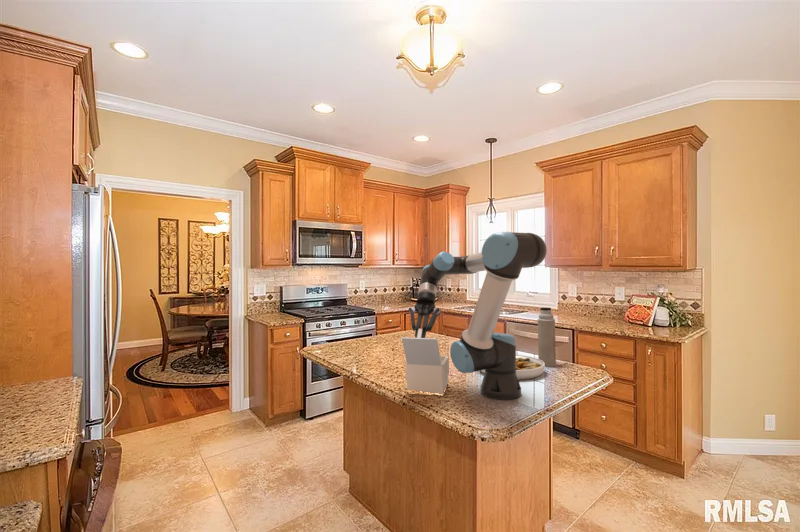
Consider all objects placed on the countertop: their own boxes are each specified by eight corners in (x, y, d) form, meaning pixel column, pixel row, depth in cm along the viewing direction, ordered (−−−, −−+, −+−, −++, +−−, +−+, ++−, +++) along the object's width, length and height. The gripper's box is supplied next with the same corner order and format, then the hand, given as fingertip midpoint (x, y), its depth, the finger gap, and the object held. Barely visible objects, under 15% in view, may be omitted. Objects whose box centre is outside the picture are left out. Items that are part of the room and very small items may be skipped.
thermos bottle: (558, 364, 187) (556, 307, 187) (553, 367, 181) (552, 308, 181) (541, 362, 192) (540, 306, 192) (536, 365, 186) (535, 308, 186)
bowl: (535, 364, 190) (535, 348, 190) (553, 382, 160) (553, 363, 160) (474, 363, 193) (474, 348, 193) (480, 381, 163) (480, 363, 163)
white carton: (414, 382, 163) (413, 354, 163) (449, 384, 159) (449, 356, 159) (405, 393, 149) (405, 363, 149) (444, 396, 145) (443, 364, 145)
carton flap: (401, 337, 141) (401, 338, 141) (437, 338, 138) (436, 339, 137) (407, 363, 148) (407, 363, 148) (441, 364, 145) (440, 365, 144)
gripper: (443, 302, 159) (437, 351, 143) (413, 301, 163) (403, 350, 147) (441, 290, 154) (434, 340, 138) (409, 290, 157) (399, 339, 142)
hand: (418, 345), depth 142 cm, fingers closed
